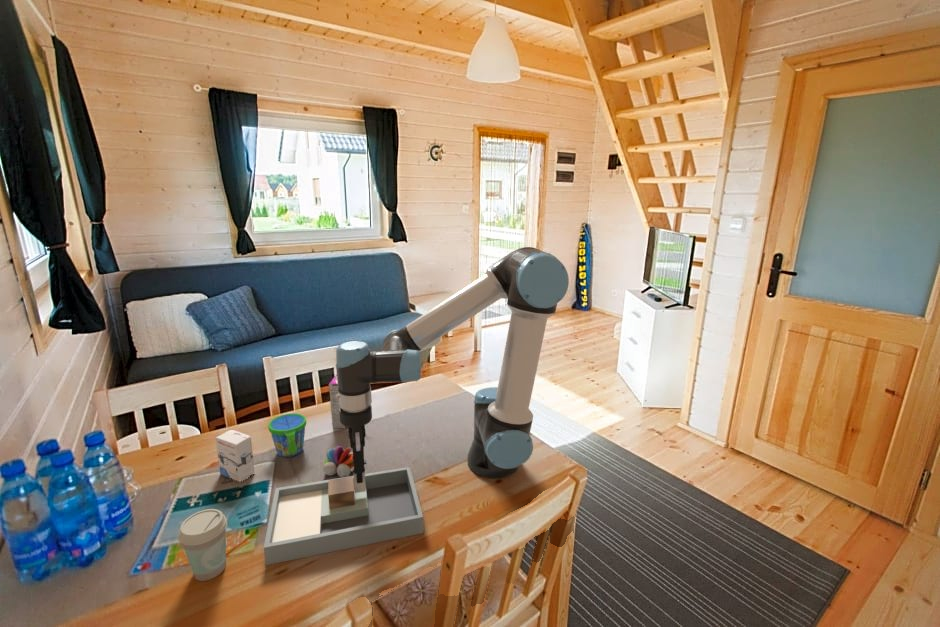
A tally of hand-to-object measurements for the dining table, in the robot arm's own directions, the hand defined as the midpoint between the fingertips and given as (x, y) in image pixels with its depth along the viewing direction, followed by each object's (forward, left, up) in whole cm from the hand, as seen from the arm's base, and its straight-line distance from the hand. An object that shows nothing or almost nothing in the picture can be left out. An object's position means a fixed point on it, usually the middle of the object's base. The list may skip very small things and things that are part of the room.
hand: (360, 490), depth 111 cm
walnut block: (+4, 0, -2) cm, 5 cm away
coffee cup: (+31, +12, -4) cm, 34 cm away
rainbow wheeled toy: (+4, -16, -5) cm, 17 cm away
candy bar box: (+3, -45, -4) cm, 45 cm away
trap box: (+3, +4, -4) cm, 7 cm away
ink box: (+32, -22, -4) cm, 39 cm away
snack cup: (+19, -30, -4) cm, 36 cm away
